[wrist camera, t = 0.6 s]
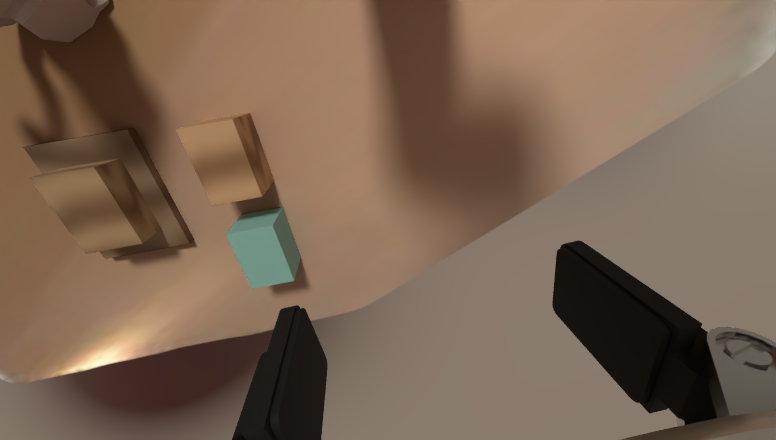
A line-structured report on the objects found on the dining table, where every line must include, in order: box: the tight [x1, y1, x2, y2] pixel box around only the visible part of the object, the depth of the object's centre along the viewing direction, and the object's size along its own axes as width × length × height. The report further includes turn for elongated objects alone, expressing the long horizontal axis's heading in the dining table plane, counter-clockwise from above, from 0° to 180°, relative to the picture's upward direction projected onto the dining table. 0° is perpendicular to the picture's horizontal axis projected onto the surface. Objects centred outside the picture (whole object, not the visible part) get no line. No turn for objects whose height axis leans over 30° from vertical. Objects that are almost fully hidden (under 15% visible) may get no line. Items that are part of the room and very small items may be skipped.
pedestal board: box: [23, 128, 194, 259], centre depth 36 cm, size 16×12×5 cm
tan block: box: [176, 113, 274, 206], centre depth 35 cm, size 9×6×6 cm, turn 9°
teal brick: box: [225, 207, 301, 289], centre depth 41 cm, size 9×6×6 cm, turn 9°
